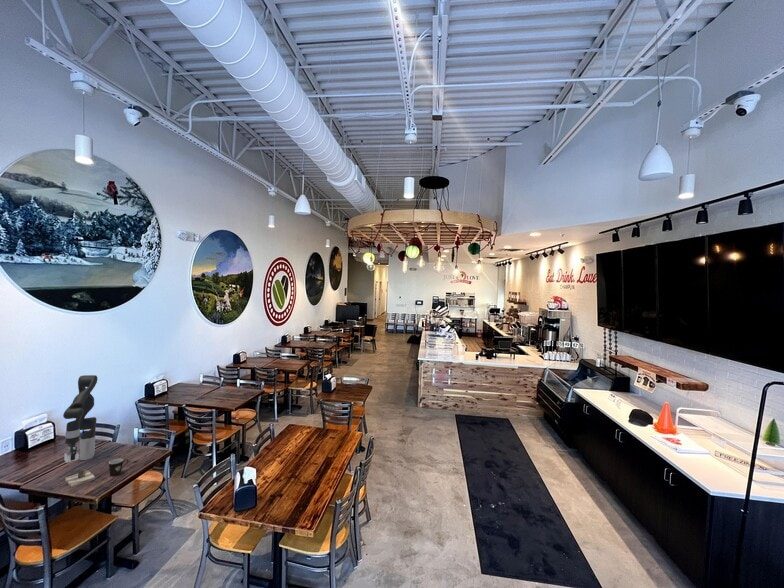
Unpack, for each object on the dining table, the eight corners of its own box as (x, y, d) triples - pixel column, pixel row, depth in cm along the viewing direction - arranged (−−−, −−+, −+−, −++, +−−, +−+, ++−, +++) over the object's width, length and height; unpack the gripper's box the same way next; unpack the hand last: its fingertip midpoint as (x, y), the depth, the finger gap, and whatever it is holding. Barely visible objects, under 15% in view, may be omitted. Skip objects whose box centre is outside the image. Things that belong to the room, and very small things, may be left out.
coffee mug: (107, 478, 245) (108, 465, 245) (108, 473, 252) (109, 460, 252) (127, 474, 252) (127, 461, 252) (128, 469, 259) (128, 456, 259)
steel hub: (64, 460, 238) (64, 453, 238) (76, 456, 244) (76, 450, 244) (66, 462, 235) (66, 455, 235) (78, 459, 240) (78, 452, 240)
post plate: (65, 479, 242) (65, 470, 242) (88, 472, 252) (88, 463, 253) (71, 487, 233) (71, 478, 233) (95, 479, 244) (95, 470, 244)
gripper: (82, 436, 238) (81, 459, 238) (76, 431, 247) (75, 453, 246) (68, 440, 232) (66, 463, 232) (63, 434, 240) (62, 457, 240)
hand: (71, 458), depth 239 cm, fingers closed on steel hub, 6 cm apart
